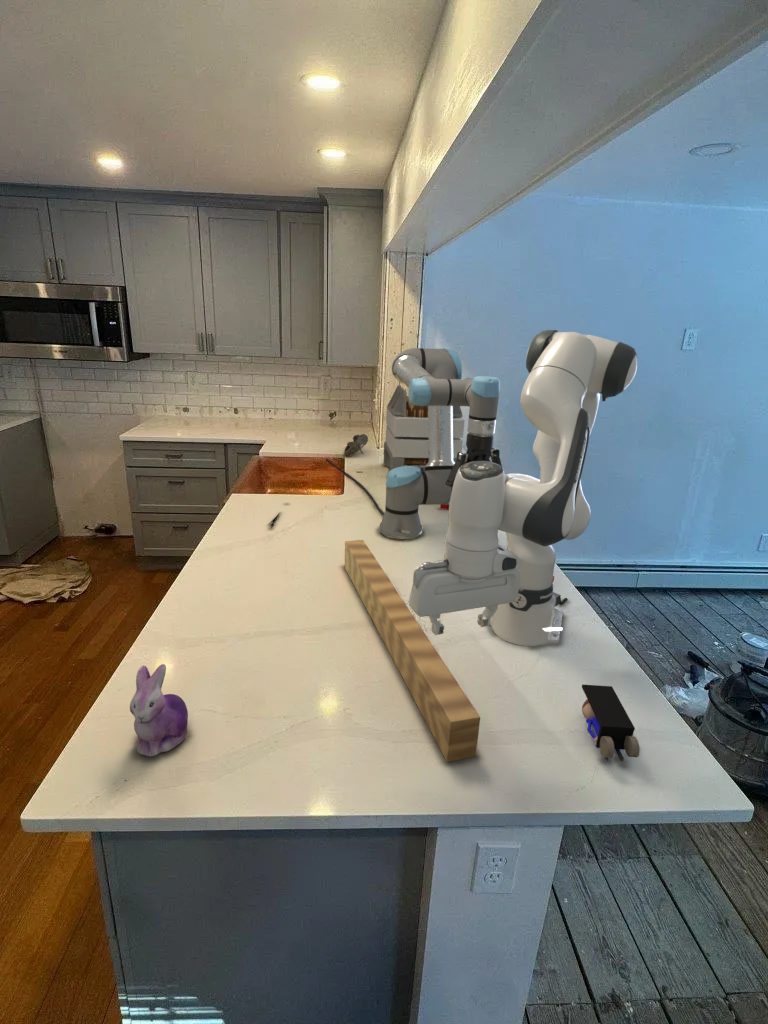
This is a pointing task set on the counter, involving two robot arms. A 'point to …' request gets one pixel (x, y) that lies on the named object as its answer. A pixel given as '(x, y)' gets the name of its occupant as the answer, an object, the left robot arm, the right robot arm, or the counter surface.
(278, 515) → the feather
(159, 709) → the figurine
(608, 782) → the counter surface
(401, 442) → the grey boxy frame
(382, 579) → the post
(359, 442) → the fossil
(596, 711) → the figurine character
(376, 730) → the counter surface
